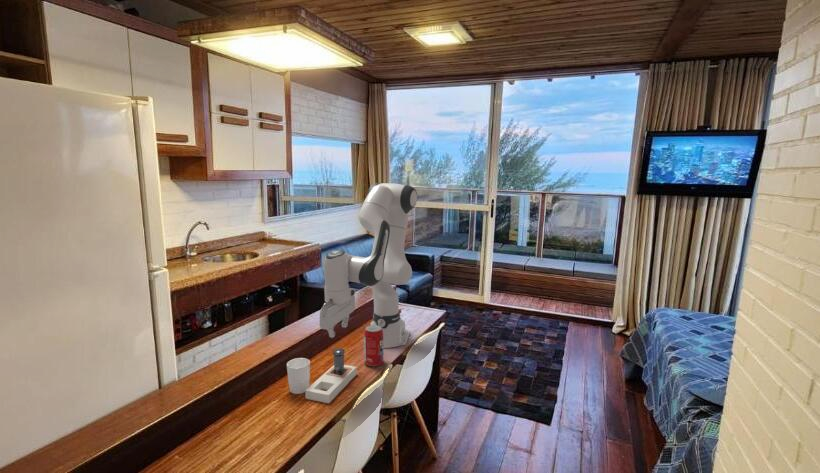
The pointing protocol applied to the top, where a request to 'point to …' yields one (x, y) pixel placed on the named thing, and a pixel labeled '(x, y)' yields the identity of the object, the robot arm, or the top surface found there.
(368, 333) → the soda can
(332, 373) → the dock board
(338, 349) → the pin
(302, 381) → the white cup
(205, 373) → the top surface
